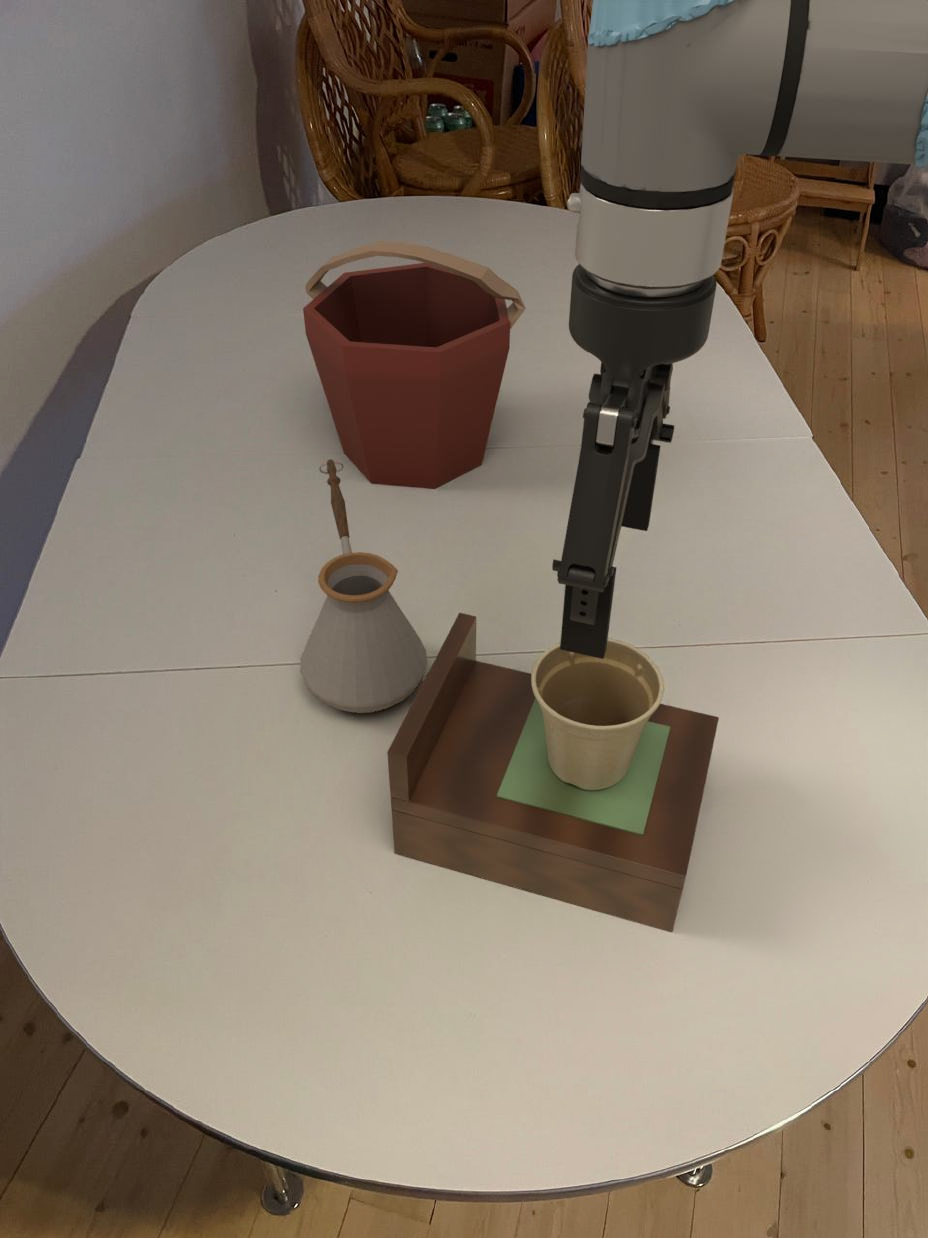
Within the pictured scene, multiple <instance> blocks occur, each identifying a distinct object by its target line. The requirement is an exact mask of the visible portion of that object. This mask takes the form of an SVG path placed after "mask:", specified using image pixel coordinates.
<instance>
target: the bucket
mask: <svg viewBox="0 0 928 1238" xmlns="http://www.w3.org/2000/svg"><path fill="white" fill-rule="evenodd" d="M374 257H389V258H398V259H399V258H400V259H405V260H412V261H416V262H420V263H412V264H403V265H396V266H387V267H379V268H371V269H363V270H356V271H349V272H348V271H347V272H346V271H345V272H343V273H342V274H341V275H339V277H337V278H336V279H335V280H334V281H333V282H332V283H331V284H329V285H328V286H327V285H326V284H324V282H322V279H323V278H324V277H325V275H326V274H327V273H328V272H329V271H332V270H334V269H337V268H339V267H341V266H343V265H345V264H350V263H353V262H356V261H359V260H360V261H361V260H364V259H369V258H374ZM304 288H305V292H306V294H307V295H308V296H309V297H310V298H311V299H312V300H311V301H310V302H308V304H306V305H305V306H304V307H303V308H302V311H303V313H302V314H303V320H304V321H303V322H304V330H305V336H306V339H307V342H308V345H309V348H310V352H311V355H312V358H313V360H314V365H315V367H316V371H317V373H318V377H319V379H320V383H321V386H322V389H323V392H324V395H325V398H326V401H327V404H328V408H329V412H330V414H331V416H332V421H333V424H334V426H335V429H336V433H337V436H338V439H339V442H340V445H341V448H342V452H343V454H344V455H345V457H346V458H348V459H349V461H350V462H351V463H352V464H353V465H354V466H355V467H356V469H358V471H360V473H361V474H362V475H363V476H364V477H365V478H366V479H367V481H369V483H370V484H373V485H386V486H399V487H408V488H420V489H432V490H435V489H437V488H439V487H441V486H443V485H445V484H447V483H449V482H451V481H453V480H454V479H455V480H456V479H457V478H459V477H460V476H463V475H464V474H466V473H468V472H470V471H472V470H474V469H476V468H478V467H480V466H482V465H483V460H484V457H485V453H486V449H487V444H488V442H489V441H488V440H489V436H490V431H491V427H492V424H493V420H494V415H495V411H496V407H497V403H498V398H499V394H500V389H501V387H502V386H501V385H502V382H503V377H504V372H505V370H506V364H507V361H508V356H509V353H510V352H509V351H510V347H511V329H512V328H513V327H514V325H516V323H517V322H518V321H519V319H520V318H521V316H522V315H523V314H524V312H525V311H526V309H527V308H526V306H525V304H524V302H523V300H522V298H521V295H520V292H519V291H518V289H516V288H515V287H514V286H512V285H511V284H510V283H509V282H507V281H505V280H504V279H503V278H501V277H500V276H498V275H497V274H496V273H495V272H494V271H493V270H492V269H491V268H490V267H488V266H485V265H482V264H480V263H477V262H475V261H471V260H468V259H466V258H463V257H460V256H457V255H455V254H451V253H449V252H445V251H443V250H439V249H435V248H433V247H428V246H423V245H418V244H413V243H408V242H400V241H399V242H398V241H386V240H385V241H384V240H381V241H378V242H374V243H369V244H365V245H362V246H359V247H355V248H352V249H349V250H347V251H346V252H343V253H340V254H338V255H334V256H332V257H330V258H329V259H328V261H326V262H324V264H322V265H321V266H320V267H319V268H318V269H317V270H316V272H314V274H313V275H312V276H311V277H310V278H309V280H308V281H307V282H306V283H305V285H304ZM506 300H508V301H512V303H510V305H509V306H508V307H507V302H506Z"/></svg>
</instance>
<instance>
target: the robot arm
mask: <svg viewBox="0 0 928 1238" xmlns="http://www.w3.org/2000/svg"><path fill="white" fill-rule="evenodd" d="M590 15H591V16H590V24H589V31H588V39H587V53H586V54H587V56H586V71H585V89H584V105H583V122H582V123H583V124H582V125H583V126H582V141H581V155H580V156H581V157H580V175H579V181H580V185H579V192H575V193H574V192H572V193H570V195H569V198H568V199H567V202H566V208H567V210H568V211H569V212H570V213H573V214H578V215H579V218H578V222H577V225H576V231H575V232H576V233H575V244H574V245H575V246H574V247H575V248H574V257H575V259H576V261H577V263H578V264H577V265H576V266H575V268H574V269H573V271H572V273H571V274H572V276H571V287H570V289H571V290H570V300H569V301H570V302H569V313H568V314H569V315H568V330H569V334H570V336H571V338H572V339H573V341H574V342H575V344H576V345H577V346H578V347H579V348H581V349H582V350H583V351H585V352H587V353H589V354H591V355H593V357H595V358H597V360H599V361H600V371H599V372H600V373H596V372H595V373H594V374H593V375H592V377H591V383H590V386H589V392H588V400H589V401H588V402H587V403H586V407H585V408H584V409H583V412H582V418H583V419H584V420H583V427H582V436H581V445H580V451H579V456H578V461H577V469H576V473H575V474H576V475H575V480H574V486H573V491H572V498H571V502H570V509H569V514H568V518H567V519H568V521H567V525H566V531H565V537H564V542H563V548H562V554H561V560H559V559H553V560H552V566H551V569H552V571H554V572H557V574H556V576H557V579H556V580H557V583H558V584H561V585H564V596H563V607H562V608H563V609H562V621H561V632H560V642H561V643H560V642H559V643H560V649H561V650H565V651H570V652H574V653H578V654H583V655H587V656H592V657H596V658H601V659H604V656H605V653H606V648H607V640H608V638H609V632H610V622H611V615H612V607H613V598H614V592H615V584H616V574H617V566H614V562H615V557H616V551H617V548H618V543H619V538H620V534H621V529H622V528H628V529H633V530H638V531H645V532H648V529H649V527H650V521H651V515H652V509H653V501H654V494H655V488H656V482H657V481H656V480H657V474H658V467H659V460H660V452H661V447H662V446H661V444H654V441H656V442H662V443H669V444H671V443H672V442H673V437H674V432H675V425H674V424H669V423H664V420H666V419H667V416H668V415H669V414H670V411H671V406H670V394H671V381H672V380H671V379H672V376H673V371H674V364H676V363H679V362H681V361H684V360H686V359H688V358H690V357H692V356H694V355H695V354H697V353H698V352H699V351H700V350H702V348H703V347H704V345H705V344H706V343H707V340H708V338H709V333H710V327H711V320H712V316H713V309H714V305H715V296H716V291H717V279H716V277H715V274H716V273H717V271H718V270H719V269H720V268H721V266H722V261H723V256H724V250H725V244H726V238H727V233H728V227H729V222H730V221H729V220H730V216H731V210H732V204H733V199H734V192H735V188H734V182H735V178H736V177H735V176H736V168H737V165H738V162H739V158H740V156H741V155H753V156H755V155H756V156H763V157H765V156H766V157H784V158H785V157H786V158H803V159H818V160H834V161H835V160H837V161H852V162H868V163H883V164H885V163H886V164H899V165H900V164H902V165H914V166H915V167H917V168H919V169H926V168H928V0H592V6H591V14H590Z"/></svg>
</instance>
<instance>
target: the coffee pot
mask: <svg viewBox="0 0 928 1238" xmlns="http://www.w3.org/2000/svg"><path fill="white" fill-rule="evenodd" d="M336 464H337V465H341V467H339V469H337V466H336ZM324 466H326V471H325V470H322V467H324ZM343 469H344V464H343V463H342V462H341V461H337V460H333V459H331V458H330V459H328V460H326V462H324V463H322V464H320V465H319V469H318V470H319V472H320V473H322V474H325V475H328V478H327V481H326V483H327V486H330V505H331V509H332V513H333V517H334V521H335V524H336V525H335V526H336V530H337V533H338V537H339V540H340V544H341V551H342V554H340V555H338V556H335V557H333V558H332V559H330V560H329V561H327V562H326V563H325V564H324V565H323V566H322V567H321V569H320V571H319V573H318V578H317V579H318V582H317V583H318V585H319V587H320V589H321V591H322V592H323V593H324V594H325V595H326V598H325V600H324V603H323V604H322V607H321V609H320V611H319V614H318V616H317V618H316V621H315V623H314V626H313V628H312V630H311V633H310V635H309V637H308V639H307V642H306V644H305V646H304V648H303V651H302V654H301V655H300V663H299V665H300V666H299V667H300V669H299V670H300V674H301V677H302V679H303V683H304V684H305V686H306V687H307V689H309V691H310V692H311V693H312V694H313V695H314V697H316V699H318V700H319V701H321V702H323V703H324V704H326V705H327V706H329V707H331V708H335V709H336V710H337V709H338V710H340V711H343V712H349V713H355V712H356V713H355V714H369V713H370V714H371V713H376V712H380V711H383V709H384V710H385V709H388V708H391V707H392V706H394V705H397V704H399V703H401V702H404V700H405V699H407V698H408V697H409V696H410V695H411V694H413V693H414V691H415V690H416V688H417V687H418V685H419V684H420V683H421V681H422V679H423V678H424V675H425V673H426V669H427V665H428V657H427V650H426V648H425V646H424V644H423V642H422V640H421V638H420V637H419V635H418V633H417V632H416V630H415V628H414V626H412V624H411V623H410V621H409V620H408V618H407V616H406V614H404V612H403V610H402V609H401V608H400V606H399V604H398V603H397V601H396V600H395V598H394V597H393V595H392V593H391V592H390V591H389V590H390V589H391V588H392V586H393V585H394V583H395V580H396V578H397V575H398V573H399V570H398V569H397V568H396V566H394V565H393V564H392V563H391V562H390V561H388V560H387V559H386V558H384V557H382V556H380V555H377V554H374V553H370V552H360V551H358V552H357V551H356V552H353V551H352V546H351V542H350V530H349V523H348V517H347V515H348V514H347V509H346V508H347V507H346V501H345V498H344V496H343V493H342V490H341V488H340V484H341V478H340V477H339V476H338V475H337V473H339V472H341V471H342V470H343ZM375 711H376V712H375Z"/></svg>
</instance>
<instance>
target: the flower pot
mask: <svg viewBox="0 0 928 1238" xmlns="http://www.w3.org/2000/svg"><path fill="white" fill-rule="evenodd" d="M560 643H561V641H560V642H558V643H555V644H554V645H552V646H550V647H548V648H547V649H546V650H544V652H542V653H541V654H540V656H539V657H538V658H537V659H536V661H535V663H534V664H533V667H532V670H531V674H532V675H531V684H532V689H533V693H534V695H535V697H536V699H537V701H538V702H539V705H540V708H541V710H542V711H543V719H544V726H545V734H546V742H547V750H548V760H549V764H550V767H551V769H552V770H553V772H554V773H555V774H556V776H557V777H558V778H559V779H561V780H562V781H563V782H566V783H570V784H573V785H575V786H577V787H579V788H581V789H584V790H600V789H605V788H608V787H611V786H613V785H615V784H617V783H618V782H620V781H621V780H622V779H623V777H624V776H625V774H626V773H627V771H628V770H629V767H630V764H631V761H632V758H633V755H634V752H635V749H636V746H637V744H638V741H639V738H640V735H641V733H642V730H643V727H644V725H645V723H646V722H647V721H648V719H649V718H650V716H651V715H652V714H653V713H654V712H655V711H656V709H657V708H658V706H659V705H660V704H662V700H663V697H664V692H665V681H664V676H663V674H662V672H661V670H660V668H659V667H658V666H657V664H656V663H655V661H653V659H652V658H651V657H650V656H649V655H648V654H646V652H643V650H641V649H639V648H638V647H636V646H634V645H632V644H630V643H628V642H625V641H622V640H620V639H616V638H613V637H611V638H610V637H608V640H607V648H606V653H605V656H604V659H601V658H596V657H592V656H587V655H583V654H578V653H574V652H570V651H565V650H561V649H560Z"/></svg>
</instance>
